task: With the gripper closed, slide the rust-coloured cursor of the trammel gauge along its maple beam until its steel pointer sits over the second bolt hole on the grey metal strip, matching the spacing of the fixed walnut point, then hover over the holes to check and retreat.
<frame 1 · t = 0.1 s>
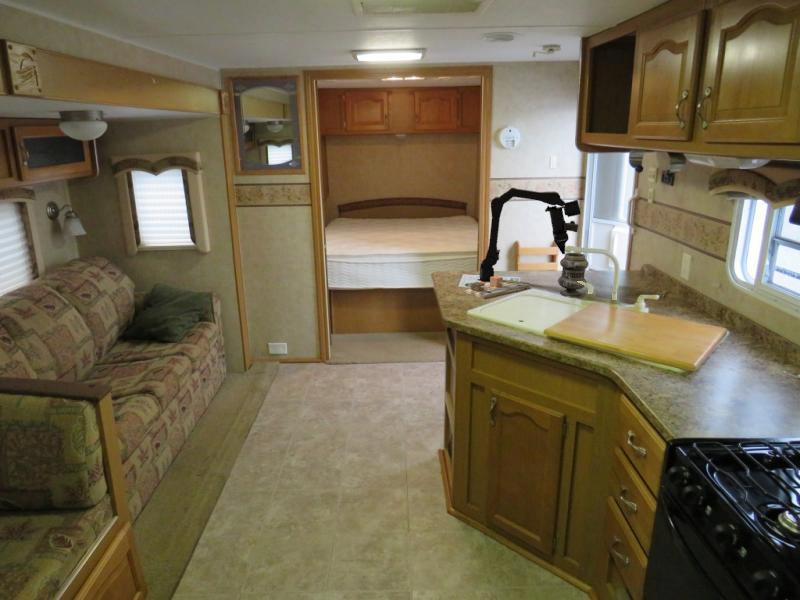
hand: (563, 252, 254), 15 cm above the countertop, tool pointing down, fingers open, 9 cm apart
apothecary jar: (570, 294, 242), on the countertop
beam board: (497, 290, 248), on the countertop
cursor: (500, 282, 248), point 3 cm above the countertop, slide at 0.0 cm
fixed point: (477, 292, 244), resting on beam board
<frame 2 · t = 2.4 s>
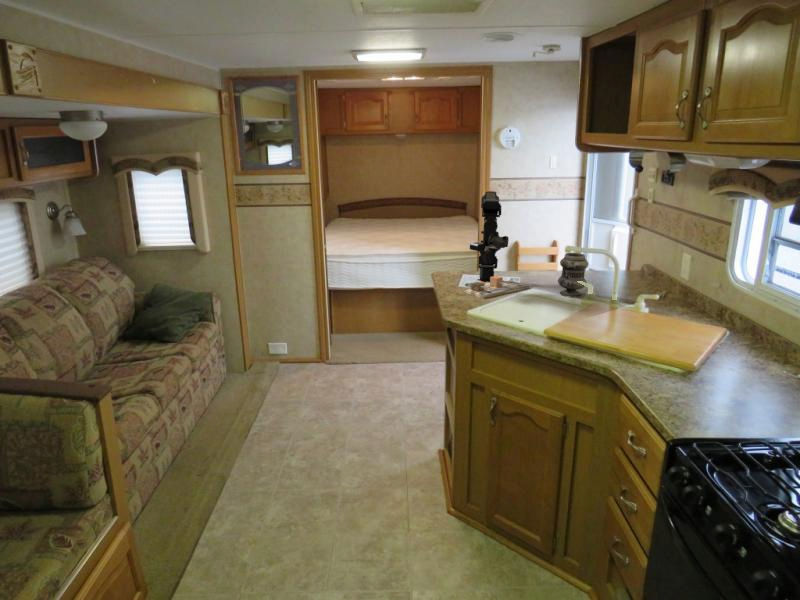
hand: (488, 264, 244), 12 cm above the countertop, tool pointing down, fingers closed
nothing on the countertop moved.
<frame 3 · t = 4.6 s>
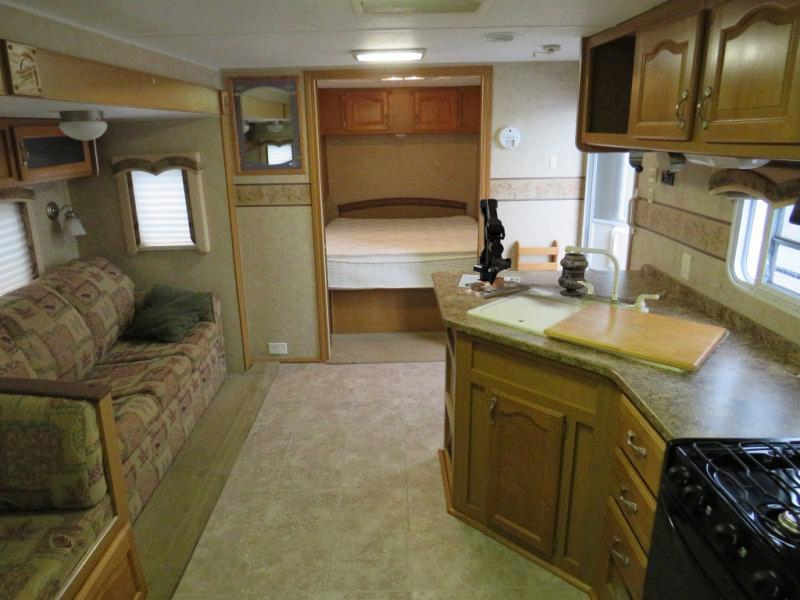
hand: (491, 284, 249), 2 cm above the countertop, tool pointing down, fingers closed
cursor: (502, 282, 249), point 3 cm above the countertop, slide at 0.9 cm, touching gripper
everything else where it was.
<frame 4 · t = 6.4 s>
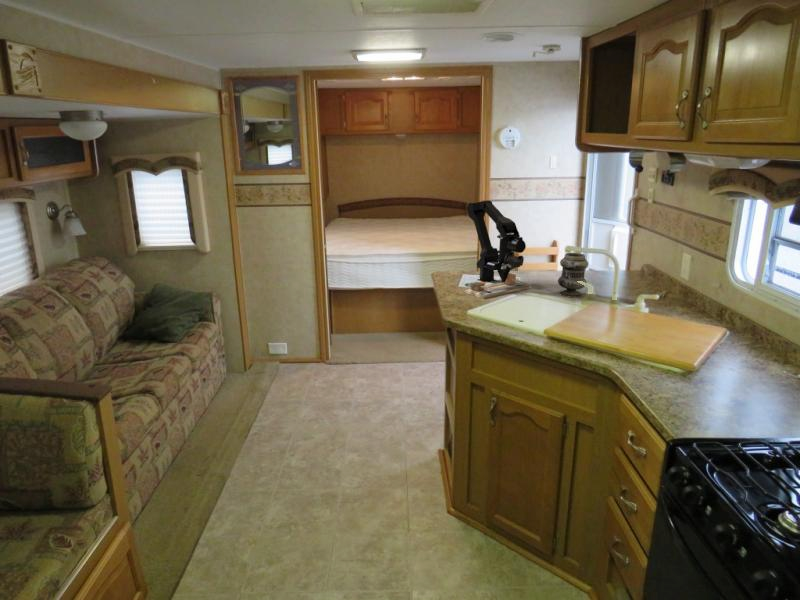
hand: (503, 282, 254), 2 cm above the countertop, tool pointing down, fingers closed
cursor: (513, 279, 253), point 3 cm above the countertop, slide at 8.8 cm, touching gripper
everything else where it was.
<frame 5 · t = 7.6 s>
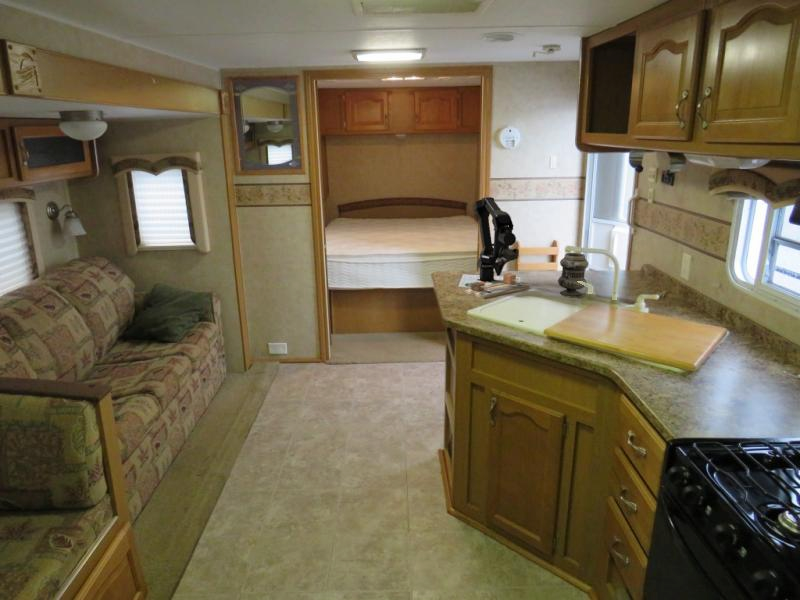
hand: (498, 275, 250), 6 cm above the countertop, tool pointing down, fingers closed
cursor: (514, 279, 253), point 3 cm above the countertop, slide at 8.8 cm
everything else where it was.
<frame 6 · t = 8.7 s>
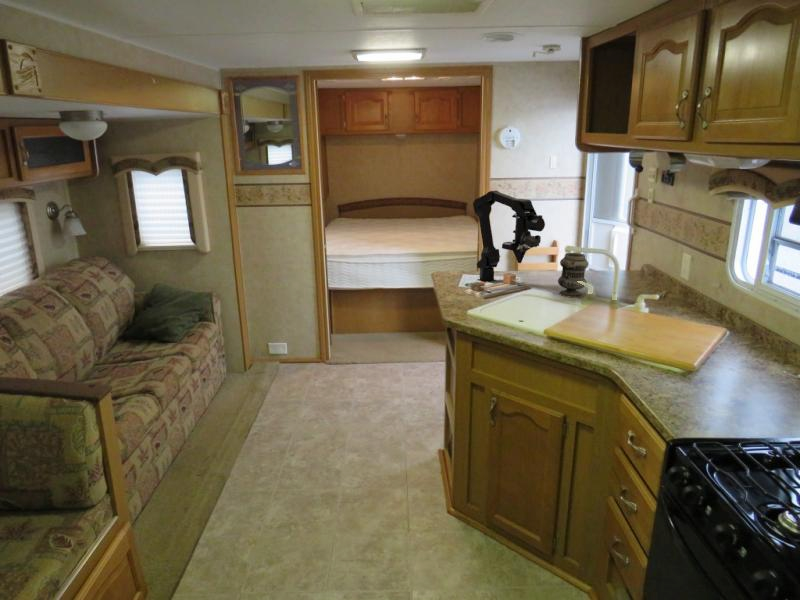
hand: (519, 263, 247), 12 cm above the countertop, tool pointing down, fingers closed
nothing on the countertop moved.
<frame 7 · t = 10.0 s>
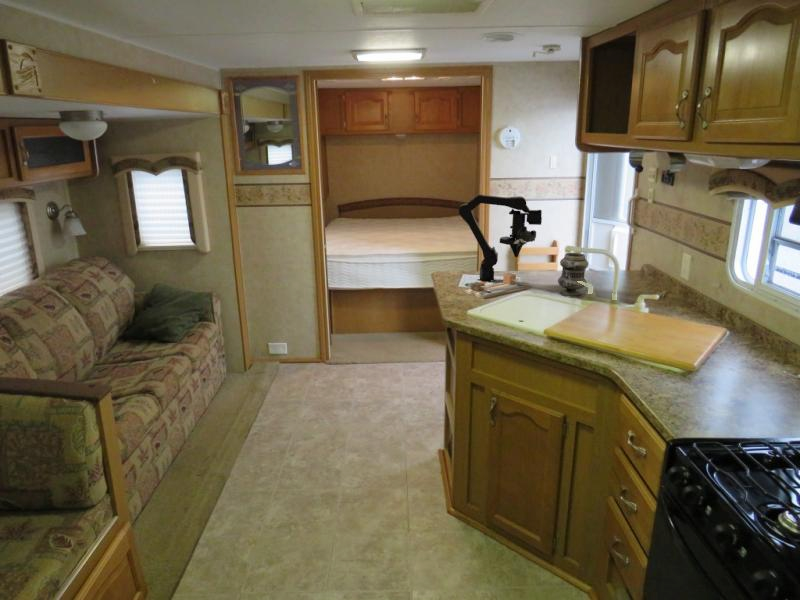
hand: (516, 257, 259), 12 cm above the countertop, tool pointing down, fingers closed
nothing on the countertop moved.
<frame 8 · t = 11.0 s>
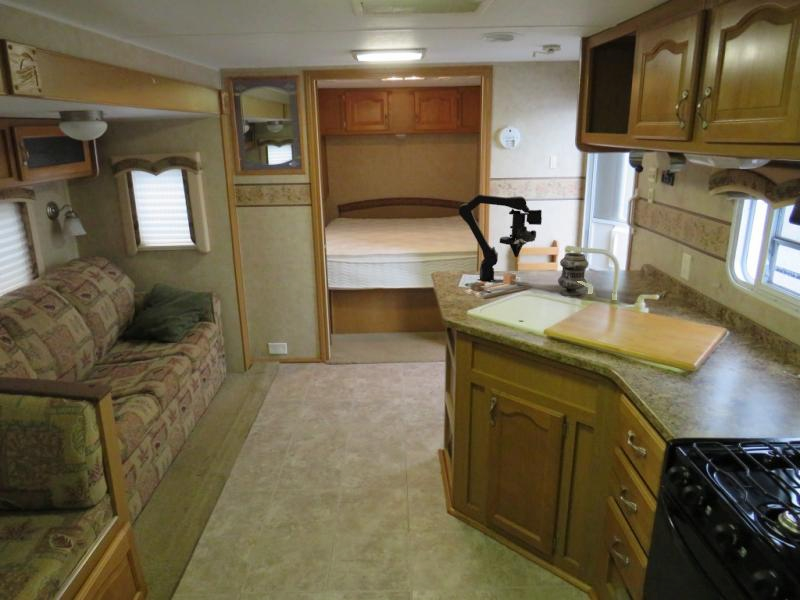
hand: (516, 257, 259), 12 cm above the countertop, tool pointing down, fingers closed
nothing on the countertop moved.
at the end: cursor slide at 8.8 cm; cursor touching nothing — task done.
